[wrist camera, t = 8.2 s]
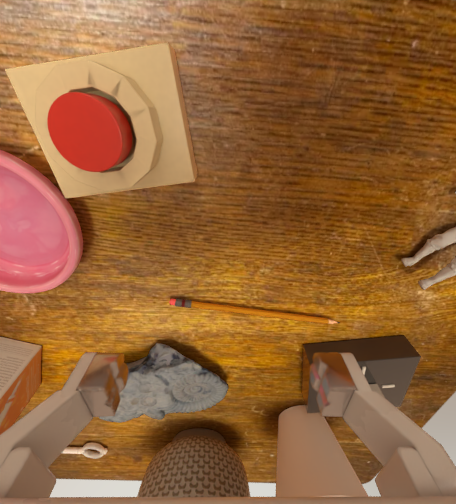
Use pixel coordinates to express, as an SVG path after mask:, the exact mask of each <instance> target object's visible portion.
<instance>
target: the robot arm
mask: <svg viewBox="0 0 456 504" xmlns="http://www.w3.org/2000/svg"><path fill="white" fill-rule="evenodd" d="M124 359H125V357H124V354H123V353H101V352H86V353H85V354H84V355H82V357H81V358H80V360H79V362H78V363H77V365H76V367H75V368H74V370H73V372H72V373H71V375H70V377H69V378H68V380H67V382H66V383H65V385H64V387H63V388H62V390H60V391H56V392H55V393H54V394H52V395H51V396H50V397H49V398H47V399H46V400H45V401H43V402H42V403H41V404H39V405H38V406H37V407H36V408H34V409H33V410H32V411H30V412H29V413H28V414H27V415H25V416H24V417H23V418H21V419H20V420H19V421H18V422H16V423H15V424H14V425H12V426H11V427H10V428H8V429H7V430H6V431H5V432H3V433H2V434H1V435H0V504H456V466H455V465H454V464H453V462H452V460H451V459H450V457H449V456H448V454H447V453H446V451H445V450H444V448H443V446H442V445H441V444H439V443H438V442H437V441H436V440H435V439H434V438H432V437H431V436H430V435H429V434H428V433H426V432H425V431H424V430H423V429H422V428H420V427H419V426H418V425H417V424H415V423H414V422H413V421H412V420H411V419H409V418H408V417H407V416H406V415H405V414H403V413H402V412H401V411H400V410H399V409H397V408H396V407H395V406H394V405H393V404H391V403H390V402H389V401H388V400H387V399H385V398H384V397H383V396H382V395H381V394H379V393H378V392H377V391H373V390H372V389H371V387H370V385H369V383H368V382H367V380H366V378H365V376H364V374H363V372H362V370H361V368H360V367H359V365H358V363H357V361H356V359H355V357H354V355H353V354H352V353H338V352H329V353H315V354H314V355H313V361H314V363H313V364H311V366H310V381H311V385H312V388H313V389H314V390H315V391H316V392H317V393H318V394H317V397H316V401H317V404H318V407H319V410H320V414H321V416H332V417H343V419H344V421H345V422H346V423H347V424H348V425H349V426H350V428H351V429H352V430H353V431H354V432H355V433H356V435H357V436H358V437H359V438H360V439H361V440H362V442H363V443H364V444H365V445H366V446H367V448H368V449H369V450H370V451H371V452H372V453H373V455H374V456H375V457H376V458H377V459H378V460H379V462H380V463H381V464H382V465H383V466H384V467H383V468H382V470H381V471H380V472H379V474H378V475H377V477H376V479H375V482H376V484H377V487H378V490H379V492H380V494H381V497H85V498H83V497H76V498H75V497H74V498H73V497H71V498H70V497H67V498H66V497H65V498H64V497H61V498H57V497H55V498H49V496H50V494H51V492H52V490H53V488H54V485H55V483H56V478H55V476H54V475H53V474H52V473H51V471H50V470H49V469H48V467H49V466H50V465H51V464H52V463H53V462H54V460H55V459H56V458H57V457H58V456H59V455H60V454H61V453H62V452H63V451H64V449H65V448H66V447H67V446H68V445H69V444H70V443H71V442H72V441H73V440H74V439H75V437H76V436H77V435H78V434H79V433H80V432H81V431H82V430H83V429H84V428H85V427H86V425H87V424H88V423H89V422H90V421H91V420H92V419H93V417H108V416H115V413H116V411H117V408H118V405H119V403H120V400H121V398H120V395H119V393H120V392H121V391H122V390H123V389H125V386H126V383H127V380H128V374H129V373H128V366H127V364H125V363H124Z"/></svg>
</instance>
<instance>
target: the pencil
mask: <svg viewBox="0 0 456 504" xmlns="http://www.w3.org/2000/svg"><path fill="white" fill-rule="evenodd" d="M170 305H175V306H180V307H189V308H191V307H193V308H201V309H209V310H217V311H225V312H233V313H241V314H249V315H257V316H265V317H273V318H282V319H290V320H298V321H306V322H314V323H322V324H332V323H340V322H336V321H333V320H331V319H328V318H322V317H314V316H306V315H298V314H290V313H282V312H274V311H266V310H258V309H251V308H243V307H235V306H227V305H219V304H211V303H203V302H195V301H192V300H184V299H170Z"/></svg>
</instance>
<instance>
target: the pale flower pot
mask: <svg viewBox="0 0 456 504" xmlns="http://www.w3.org/2000/svg"><path fill="white" fill-rule="evenodd" d="M276 497H368V495H367V493H366V491H365V490H364V488H363V486H362V484H361V482H360V481H359V479H358V477H357V475H356V473H355V472H354V470H353V468H352V466H351V464H350V463H349V461H348V459H347V457H346V455H345V454H344V452H343V450H342V448H341V446H340V445H339V443H338V441H337V439H336V437H335V436H334V434H333V432H332V430H331V428H330V427H329V425H328V423H327V421H326V419H325V418H324V416H321V414H320V413H307V411H306V407H305V405H298V406H293V407H290V408H288V409H286V410H284V411H283V412H282V413H281V414H280V415H279V419H278V447H277V475H276Z"/></svg>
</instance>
